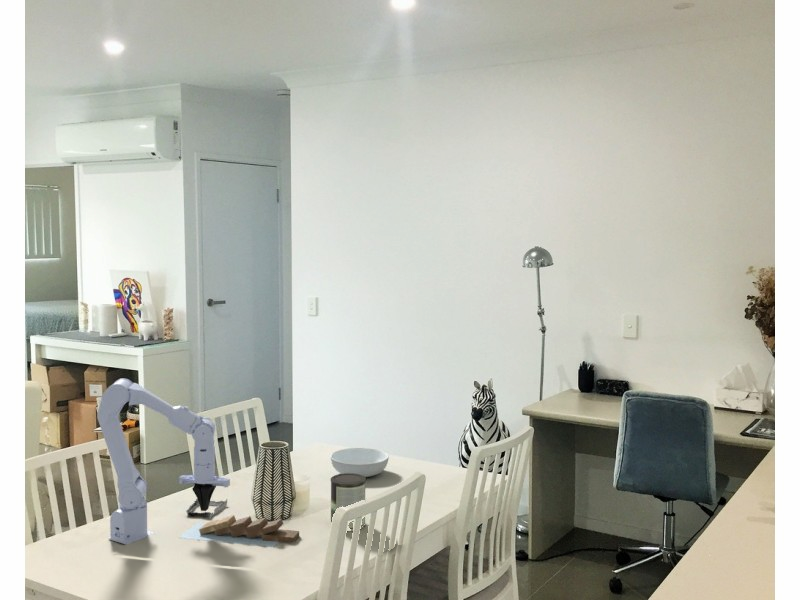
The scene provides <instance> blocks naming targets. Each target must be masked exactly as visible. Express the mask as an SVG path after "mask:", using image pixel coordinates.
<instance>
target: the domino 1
mask: <svg viewBox="0 0 800 600" xmlns="http://www.w3.org/2000/svg"><path fill="white" fill-rule="evenodd" d="M251 522H252V517H251V515H249V516H245V517H243V518H240V519H237V520H236V521H235V522H234V523H232V524H231V525H230V526H229V527H226V528H222V529H219V530H215V533H216V536H219V535H223V534H226V533H229V532H233V531H236V530H240V529H243V528H246V527H247V526H248V525H249V524H250V523H251Z"/></svg>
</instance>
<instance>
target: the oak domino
mask: <svg viewBox="0 0 800 600" xmlns="http://www.w3.org/2000/svg"><path fill="white" fill-rule="evenodd" d="M236 519H237V518H236V517H235V515H231V516H227V517H223V518H219V519H216V520H215V519H214V520H212V521H209V522H206V524H205V525H203V526H202V527H201V528H200V529H199V532H200V535H201V534H205V533H208V532H212V531H215V530H219V529H222V528H226V527H229V526H230V525H231V524H232V523H234V522H235V521H236Z"/></svg>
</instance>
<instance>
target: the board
mask: <svg viewBox="0 0 800 600" xmlns="http://www.w3.org/2000/svg"><path fill="white" fill-rule="evenodd" d="M206 523H207V522H206ZM206 523H205V522H204V523H203V522H197V523H196V524H194V525H193V526H192V527H190V528H189V529H188V530H187V531H185V532H184V533H183V534H181V535H179V537H178V539H186V540H187V539H188V540H196V541H207V542H216V543H217V542H218V543H227V544H239V545H249V546H250V545H251V546H259V547H261V546H262V547H270V548H275V547H276V546H277V545H278V543H279V542H274V541H263V540H262V535H260V536H256V537H253V538H250V539H248V537H247V534H243V535H240V536H237V537H232V535H231V532H229V533H226V534H223V535H219V536H216V533H215V531H212V532H208V533H205V534H201V535H200V532H199V529H200V528H201V527H202V526H203V525H205V524H206Z"/></svg>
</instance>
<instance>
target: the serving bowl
mask: <svg viewBox="0 0 800 600" xmlns="http://www.w3.org/2000/svg"><path fill="white" fill-rule="evenodd" d="M389 459H390V457H389V454H388V453H387V452H386V451H384V450H380V449H377V448H370V447H366V448H365V447H351V448H344V449H339V450H336V451H333V452H332V453H331V454H330V461H331V464H332V467H333V469H335V471H336V472H338V473H339V474H344V473H353V474H360V475H362V476H364V477H365V478H368V477H373V476H376V475H378V474H380V473H382V472H383V471H384V470H385V469H386V467H387V465H388V462H389Z"/></svg>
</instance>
